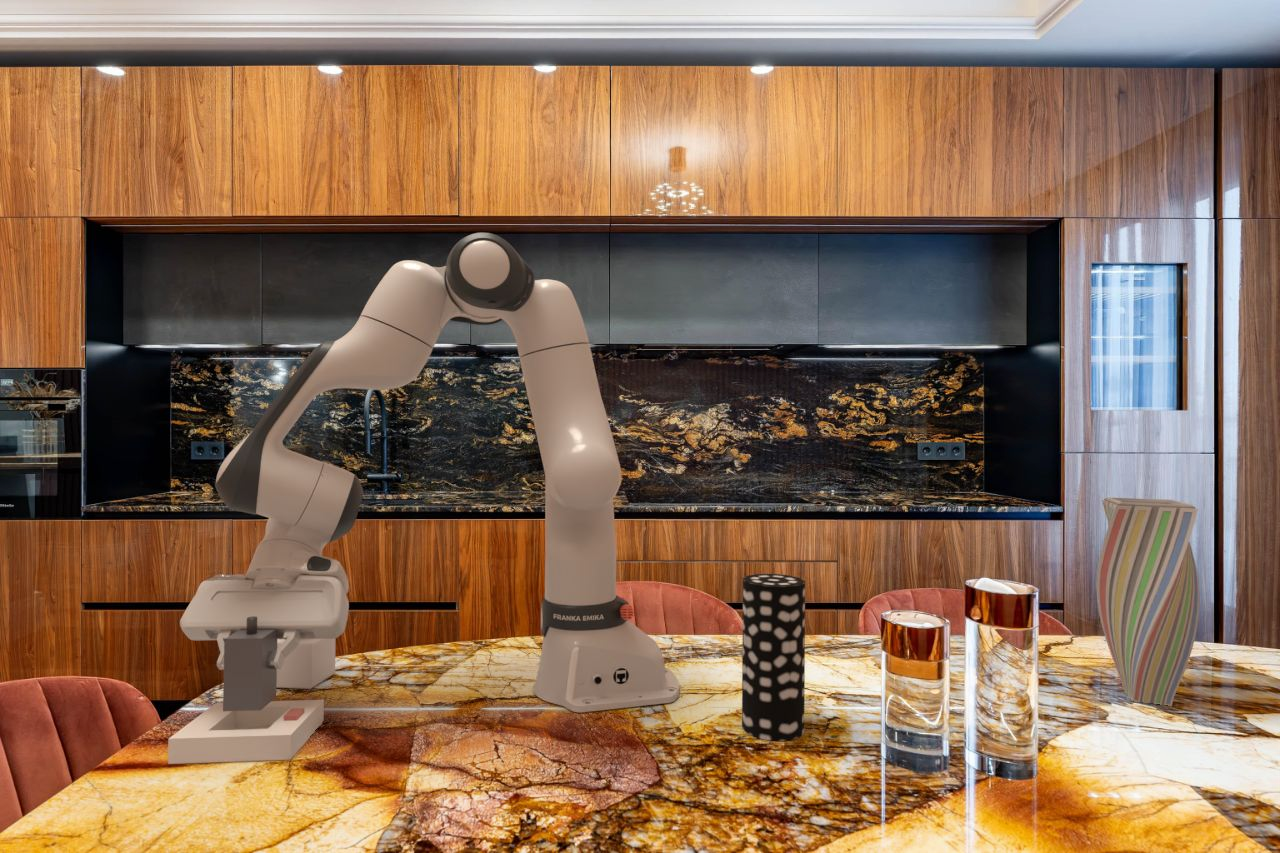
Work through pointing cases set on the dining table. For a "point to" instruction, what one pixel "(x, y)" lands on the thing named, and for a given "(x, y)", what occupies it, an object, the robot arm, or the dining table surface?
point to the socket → (247, 733)
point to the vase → (1148, 594)
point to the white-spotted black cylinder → (773, 656)
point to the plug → (249, 668)
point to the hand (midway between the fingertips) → (248, 667)
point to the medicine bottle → (307, 664)
